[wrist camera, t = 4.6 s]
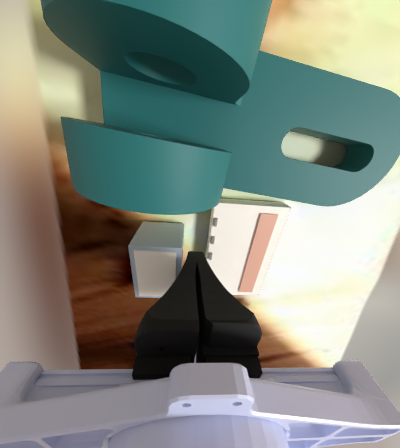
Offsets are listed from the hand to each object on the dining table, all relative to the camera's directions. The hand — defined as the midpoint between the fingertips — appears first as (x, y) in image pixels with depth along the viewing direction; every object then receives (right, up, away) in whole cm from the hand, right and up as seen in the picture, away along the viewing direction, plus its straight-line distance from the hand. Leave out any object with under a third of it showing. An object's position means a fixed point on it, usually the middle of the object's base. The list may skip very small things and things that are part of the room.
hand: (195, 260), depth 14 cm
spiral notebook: (+4, +1, +2) cm, 5 cm away
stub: (-3, +1, +2) cm, 4 cm away
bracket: (+4, +9, -2) cm, 10 cm away
